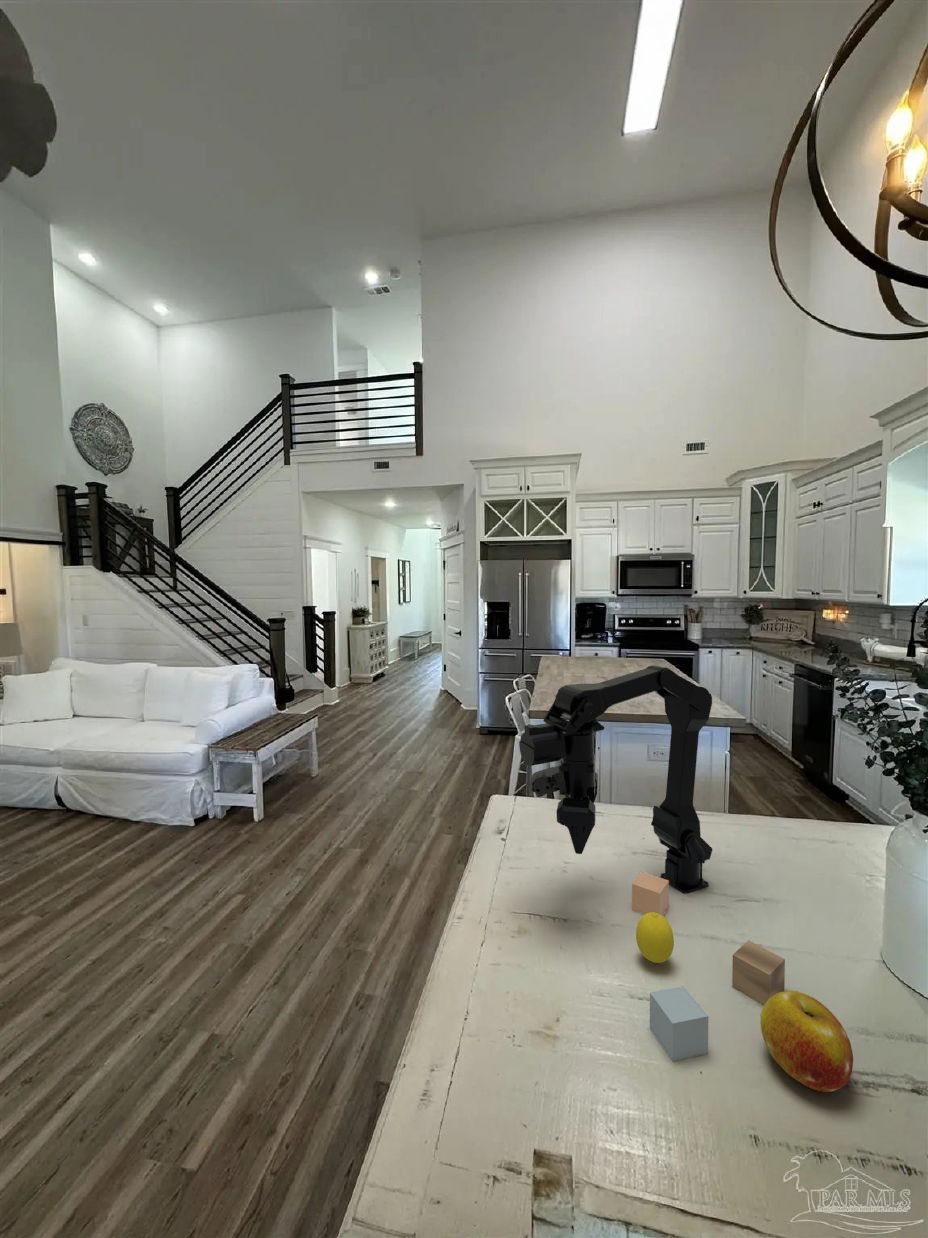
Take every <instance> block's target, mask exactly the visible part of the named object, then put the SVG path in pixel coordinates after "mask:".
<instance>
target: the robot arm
mask: <svg viewBox="0 0 928 1238" xmlns="http://www.w3.org/2000/svg"><path fill="white" fill-rule="evenodd" d="M653 692H655V693H656V694H657V695H658V696H659V697H660V698H662V699H663V700H664V701H663V702H664V712H665V715H666V717H667V719H668V722H669V725H670V727H671V730H670V742H669V755H668V765H667V766H668V768H667V778H666V790H665V799H664V800H663V801H662V802H661V803H660V805H654V806H653V807H652V821H651V822H650V826H652V827H653V833H654V834H655V836H657V838H658V841H659V843H660V844H661V845H663V846H665V847H666V848H668V849H666V850H665V851H666V855H665V856H666V858H665V860H664V867H665V868H664V872H663V873H660V878H663V879H666V880H669V885H672V886H673V887H675V888H676V889H677V890H679V891H680V892H682V893H683V894H686V893H691V892H693V891H696V890H701V889H703V888H707V887H709V886H710V885H709V882H708V881H707V880H705V879H703V864H705V862H706V861H708V860H710V859H711V856H712V853H713V847H711V846H710V845H709V843H708V842H706V840H704V839H703V838H702V837H701V835H702V834H701V821H700V818H699V816H698V814H697V811H696V808H695V807H694V795H695V783H696V781H695V780H696V771H697V770H696V769H697V761H698V760H697V758H698V747H699V734H700V731H701V730H702V729H703V727H704V726H705V724H706V723H707V722H708V721H709V718H710V715H711V710H712V706H713V696H712V693H710V692H709V690H708V689H707V688H706V687H703V686H699V685H697V684H695V683H693V682H691V681H689V680H688V679H686V678H684V677H682V676H680V675H679V674H678V673H675V672H674V671H673V670H672V669H670V668H668V667H665V666H659V665H652V664H651V665H649V666H646V667H645V668H644V669H643V668H642V669H640V670H637V671H633V672H629V673H626V674H623V675H621V676H620V675H619V676H617V677H615V678H610V679H608V680H605V681H601V682H596V683H574V684H567V685H563V686H561V687H560V688H559V689H557V693H556V695H555V698H554V701H553V703H552V705H551V706H550V708H549V709H548V711H547V713H546V715H545V716H544V719H543V723H540V724H526V725H524V728H523V729H524V732H523V733H522V734H521V735H520V739H519V741H518V742H519V743H518V746H519V752H520V756H521V758H522V761H523V762H524V764H526V766H528V767H532V766H533V767H534V766H537V765H543V764H549V763H553V762H559V761H560V764H559V765H557V766H551V767H549V768H544V769H541V770H539V771H535V772H534V773H532V775H531V778H530V780H529V781H530V782H529V783H530V785H531V792H533V793H534V794H535V796H536V798H542V797H544V796H545V795H550V794H552V793H555V792H556V793H557V792H558V791H559V793H558V794H559V795H560V796H567V795H568V797H569V798H567V797H563V798H562V799H560V801H558V803H557V807H556V810H555V811H556V823H558V824H560V825H561V826H564V827H566V828H567V829H568V832H569V835H570V840H571V842H572V846H573V849H574V853H575V854H577V855H582V854H583V852H584V850H585V847H586V845H587V843H588V841H589V838H590V836H591V833H592V830H594V828H595V826H596V819H597V818H596V817H597V816H596V814H597V811H596V805H595V800H596V798H597V795H598V789H599V788H598V787H599V775H598V773H597V772H596V771H595V766H596V765H595V764H596V762H595V761H596V758H595V748H594V747H595V746H594V745H595V741H594V739H595V737H594V732H601V731H604V730H605V726H604V725H603V724H601V723H600V722H599V721H598V720H597V718H599V717H601V716H603V715H604V714H605V712H607V710H608V709H609V708H610V707H612V706H616V705H617V704H620V703H624V702H626V701H629V700H632V699H635V698H638V697H642V696H644V695H648V694H651V693H653ZM562 716H564V717H566V718H569V719H568V720H567V719H565V718H563V717H562Z"/></svg>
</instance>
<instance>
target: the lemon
mask: <svg viewBox="0 0 928 1238" xmlns="http://www.w3.org/2000/svg"><path fill="white" fill-rule="evenodd" d="M635 940H636V945H637V947H638V949H639V952H640V953H641V954H642V956H643V957H644V958H645V959H646V960H648V961H650V962H652V963H653V964H661V963H664V962H666V961H668V960H669V958H671V956H672V954H673V951H674V946H675V944H674V943H675V939H674V933H673V930H672V926H671V925H670V923H669V921H668V920H667V918H665V917H664V915H663V916H661V915H660V914H658V913H655V912H651V913H646V914H642V916H641V917H640V918H639V920H638V922H637V926H636V929H635Z"/></svg>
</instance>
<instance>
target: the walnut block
mask: <svg viewBox="0 0 928 1238" xmlns="http://www.w3.org/2000/svg"><path fill="white" fill-rule="evenodd" d="M731 966H732V967H731V968H732V970H731V971H732V973H731V975H732V977H731V978H732V979H731V980H732V981H731V982H732V983H731V984H732V985H731V987H732V988H734V989H735V990H737V991H738V992H740V993H742V994H743V995H745V996H747V997H748V998H750V999H752V1000H753V1001H755V1002H757V1003H758V1004H760V1005H761V1006H762V1007H763V1006H764V1005H765V1003H766V1002H767V1001H768V999H769V998H771V997H772V996H774V995H775V994H777V993H779V992H783V991H785V980H786V979H785V978H786V976H785V975H786V974H785V973H786V958H784V957H782V956H780V955H778V954H776V953H774V952H772V951H770V950H768V949H766V948H764V947H763V946H761V945H759V944H757V943H755V942H753V941H751V940H749V939H748V940H747V941H746V942H745V943H744V944H743V945H741V947H740V948H737V950H736V951H735V952H733V954H732V965H731Z"/></svg>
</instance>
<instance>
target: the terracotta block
mask: <svg viewBox="0 0 928 1238" xmlns="http://www.w3.org/2000/svg"><path fill="white" fill-rule="evenodd" d="M669 907H670V883H669V880H666V879H663V878H662V877H661V876H656V875H654V874H651V873H646V872H644V871H641V872H640V873H639V874H638V876H637V877H636V878H635V880H634V881H633V882H632V883H631V910H632V911H634V912H636V913H639V914H642V915H644V914H646V913H651V912H655V913H658V914H660V915H661V916H663V917H664V915H665V913H666V912H667V910H668V908H669Z"/></svg>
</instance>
